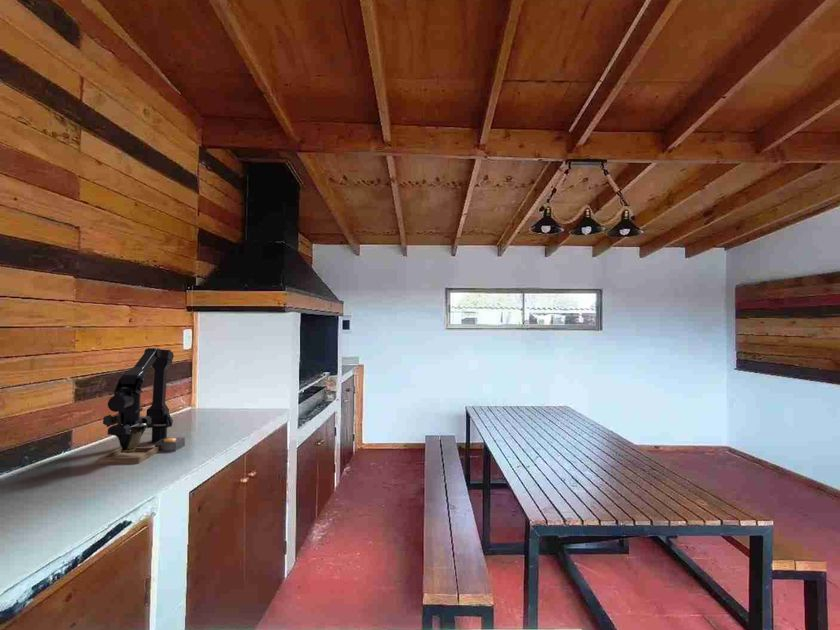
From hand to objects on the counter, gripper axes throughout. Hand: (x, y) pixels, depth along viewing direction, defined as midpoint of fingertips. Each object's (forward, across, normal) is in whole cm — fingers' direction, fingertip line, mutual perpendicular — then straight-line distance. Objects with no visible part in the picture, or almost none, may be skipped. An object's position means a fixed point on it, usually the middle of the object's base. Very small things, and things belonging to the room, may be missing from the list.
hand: (130, 447), depth 162 cm
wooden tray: (+4, 0, 0) cm, 4 cm away
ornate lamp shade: (+2, 0, 0) cm, 2 cm away
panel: (+4, -12, +9) cm, 15 cm away
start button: (+2, -12, +9) cm, 15 cm away
